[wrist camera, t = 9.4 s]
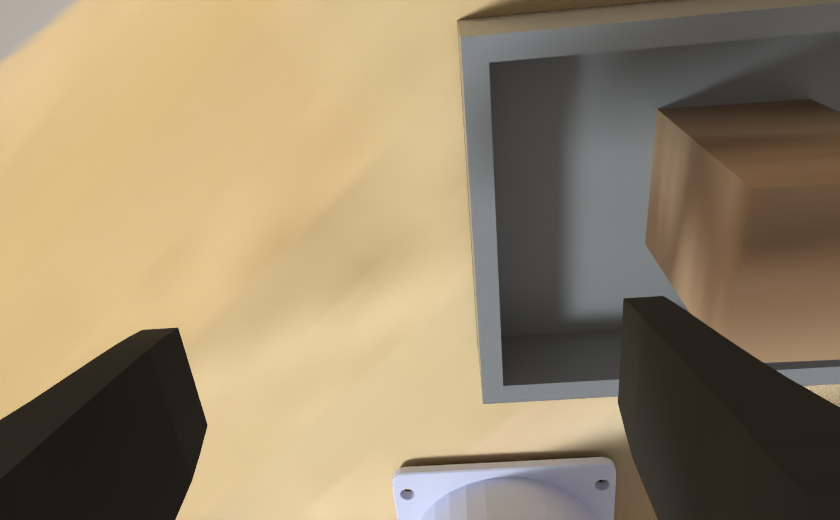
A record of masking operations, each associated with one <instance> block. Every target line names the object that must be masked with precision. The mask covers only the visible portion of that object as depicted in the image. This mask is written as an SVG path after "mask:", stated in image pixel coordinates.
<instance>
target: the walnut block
mask: <svg viewBox="0 0 840 520" xmlns="http://www.w3.org/2000/svg"><path fill="white" fill-rule="evenodd" d="M645 245H646V246H647V248H648V249H649V251H650V252H651V254H652V256H653V257H654V259H655V260H656V262H657V263H658V265H659V266H660V268H661V269H662V271H663V272H664V274H665V276H666V277H667V279H668V280H669V282H670V283H671V285H672V286H673V288H674V289H675V291H676V292H677V294H678V296H679V297H680V299H681V300H682V302H683V303H684V305H685V306H686V308H687V309H688V311H689V313H690V314H692V315H693V316H695V317H696V318H698V319H699V320H701V321H702V322H703V323H705V324H706V325H708V326H709V327H711V328H712V329H714V330H715V331H717V332H718V333H719V334H721V335H722V336H724V337H725V338H727V339H728V340H730V341H731V342H733V343H734V344H736V345H737V346H739V347H740V348H742V349H743V350H745V351H746V352H748V353H749V354H751V355H752V356H754V357H756V358H757V359H759V360H760V361H762V362H763V363H772V362H795V361H818V360H840V112H838V111H836V110H834V109H831V108H829V107H827V106H825V105H823V104H821V103H819V102H816V101H814V100H812V99H804V100H789V101H773V102H758V103H742V104H727V105H712V106H696V107H681V108H665V109H657V115H656V126H655V137H654V149H653V160H652V171H651V183H650V194H649V205H648V216H647V228H646V239H645Z"/></svg>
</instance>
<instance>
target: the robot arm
mask: <svg viewBox="0 0 840 520" xmlns="http://www.w3.org/2000/svg"><path fill="white" fill-rule="evenodd" d="M618 405H619V408H620V412H621V416H622V420H623V424H624V428H625V432H626V435H627V439H628V442H629V446H630V450H631V453H632V457H633V460H634V462H635V465H636V467H637V470H638V472H639V474H640V477H641V479H642V482H643V484H644V487H645V489H646V491H647V494H648V496H649V499H650V501H651V504H652V506H653V508H654V511H655V513H656V516H657V518H658V520H840V407H838V406H836V405H834V404H833V403H831V402H829V401H827V400H825V399H824V398H822V397H820V396H819V395H817V394H815V393H813V392H812V391H810V390H808V389H806V388H805V387H803V386H801V385H800V384H798V383H796V382H794V381H793V380H791V379H789V378H787V377H786V376H784V375H783V374H781V373H779V372H778V371H776V370H775V369H773V368H771V367H770V366H768V365H766V364H765V363H763V362H762V361H760V360H759V359H757V358H756V357H754V356H752V355H751V354H749V353H748V352H746V351H745V350H743V349H742V348H740V347H739V346H737V345H736V344H734V343H733V342H731V341H730V340H728V339H727V338H725V337H724V336H722V335H721V334H719V333H718V332H717V331H715V330H714V329H712V328H711V327H709V326H708V325H706V324H705V323H703V322H702V321H701V320H699V319H698V318H696V317H695V316H693V315H692V314H690V313H689V312H688V311H686V310H685V309H683V308H682V307H680V306H679V305H677V304H676V303H674V302H673V301H671V300H669V299H668V298H666V297H664V296H653V297H637V298H623V316H622V335H621V354H620V373H619V392H618ZM206 429H207V422H206V419H205V416H204V412H203V409H202V406H201V402H200V399H199V396H198V392H197V389H196V386H195V382H194V379H193V376H192V373H191V369H190V366H189V363H188V359H187V356H186V353H185V349H184V346H183V343H182V339H181V336H180V333H179V329H178V328H166V329H151V330H141V331H140V332H138V333H136V334H134V335H132V336H130V337H128V338H127V339H125V340H123V341H121V342H120V343H118V344H117V345H115V346H113V347H112V348H110V349H109V350H107V351H106V352H104V353H102V354H101V355H99V356H98V357H96V358H95V359H93V360H92V361H90V362H89V363H87V364H86V365H84V366H83V367H81V368H80V369H78V370H77V371H75V372H74V373H72V374H71V375H69V376H68V377H66V378H65V379H63V380H62V381H60V382H59V383H57V384H56V385H54V386H53V387H51V388H50V389H48V390H47V391H45V392H44V393H42V394H41V395H39V396H38V397H36V398H35V399H33V400H32V401H30V402H28V403H27V404H25V405H24V406H22V407H20V408H19V409H17V410H16V411H14V412H12V413H11V414H9V415H8V416H6V417H4V418H3V419H1V420H0V520H175V519H176V517H177V514H178V512H179V510H180V507H181V505H182V503H183V500H184V498H185V496H186V493H187V491H188V489H189V486H190V484H191V482H192V479H193V475H194V472H195V469H196V465H197V462H198V459H199V456H200V452H201V448H202V444H203V440H204V437H205V433H206ZM598 480H604V481H603V482H597V481H598ZM392 485H393V492H394V499H395V505H396V512H397V519H398V520H614V509H615V491H616V469H615V466H614V463H613V462H612V460H611V459H608V458H606V457H590V458H570V459H551V460H531V461H511V462H492V463H472V464H452V465H433V466H413V467H402V468H399V469H397V470H396V471H395V472H394V474H393V482H392ZM405 489H410V490H412V491H409V492H408V491H404V490H405Z"/></svg>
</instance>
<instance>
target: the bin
mask: <svg viewBox="0 0 840 520" xmlns="http://www.w3.org/2000/svg"><path fill="white" fill-rule="evenodd" d="M457 26H458V42H459V58H460V74H461V89H462V105H463V121H464V137H465V153H466V168H467V184H468V200H469V216H470V232H471V248H472V263H473V279H474V295H475V311H476V327H477V343H478V354H479V365H480V376H481V386H482V397H483V404H492V403H510V402H528V401H545V400H563V399H581V398H598V397H616V396H618V392H619V373H620V354H621V335H622V316H623V298H637V297H653V296H664V297H666V298H668V299H669V300H671V301H673V302H674V303H676V304H677V305H679V306H680V307H682V308H683V309H685V310H686V311H688V309H687V308H686V306H685V305H684V303H683V302H682V300H681V299H680V297H679V296H678V294H677V292H676V291H675V289H674V288H673V286H672V285H671V283H670V282H669V280H668V279H667V277H666V276H665V274H664V272H663V271H662V269H661V268H660V266H659V265H658V263H657V262H656V260H655V259H654V257H653V256H652V254H651V252H650V251H649V249H648V248H647V246H646V245H645V239H646V228H647V216H648V205H649V194H650V183H651V171H652V160H653V149H654V137H655V126H656V115H657V109H665V108H681V107H696V106H712V105H727V104H742V103H758V102H773V101H789V100H804V99H812V100H814V101H816V102H819V103H821V104H823V105H825V106H827V107H829V108H831V109H834V110H836V111H838V112H840V0H665V1H654V2H644V3H633V4H622V5H611V6H601V7H590V8H579V9H569V10H558V11H547V12H537V13H526V14H515V15H505V16H494V17H483V18H473V19H462V20H457ZM688 312H689V311H688ZM765 364H766V365H768V366H770V367H771V368H773V369H775V370H776V371H778V372H779V373H781V374H783V375H784V376H786V377H787V378H789V379H791V380H793V381H794V382H796V383H798V384H800V385H801V386H810V385H828V384H840V360H818V361H795V362H772V363H765Z"/></svg>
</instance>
